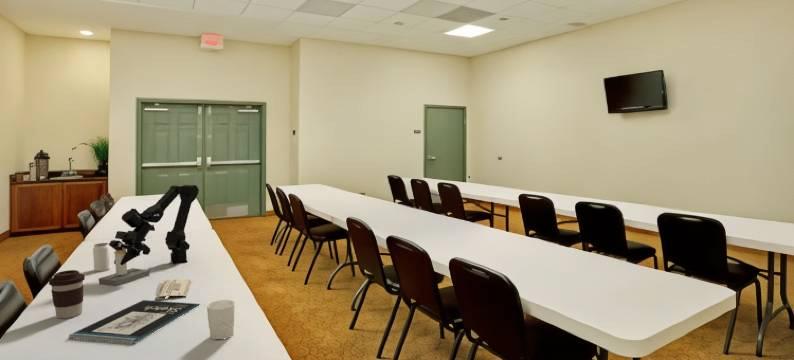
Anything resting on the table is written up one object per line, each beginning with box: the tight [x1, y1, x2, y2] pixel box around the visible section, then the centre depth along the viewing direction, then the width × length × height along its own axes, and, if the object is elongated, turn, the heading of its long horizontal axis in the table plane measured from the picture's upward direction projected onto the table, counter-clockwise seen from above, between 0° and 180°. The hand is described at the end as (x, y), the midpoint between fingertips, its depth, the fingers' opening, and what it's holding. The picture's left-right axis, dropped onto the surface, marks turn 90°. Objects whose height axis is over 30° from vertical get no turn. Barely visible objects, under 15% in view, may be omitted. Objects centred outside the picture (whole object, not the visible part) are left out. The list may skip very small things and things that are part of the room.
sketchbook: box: [68, 299, 201, 346], centre depth 150 cm, size 23×32×2 cm
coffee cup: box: [48, 269, 86, 319], centre depth 154 cm, size 10×10×15 cm
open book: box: [155, 278, 192, 301], centre depth 180 cm, size 23×12×2 cm, turn 20°
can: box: [92, 242, 112, 272], centre depth 209 cm, size 6×6×12 cm
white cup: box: [206, 299, 236, 340], centre depth 138 cm, size 8×8×10 cm
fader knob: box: [113, 250, 128, 275], centre depth 192 cm, size 3×3×10 cm
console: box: [98, 267, 150, 287], centre depth 194 cm, size 16×10×2 cm, turn 161°
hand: (118, 264), depth 191 cm, fingers closed on fader knob, 3 cm apart
